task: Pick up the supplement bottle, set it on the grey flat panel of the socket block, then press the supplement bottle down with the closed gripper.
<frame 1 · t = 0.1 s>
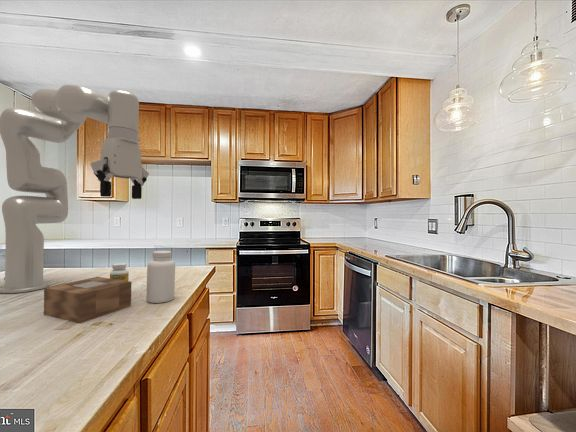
hand: (122, 197, 79), 31 cm above the counter, tool pointing down, fingers open, 9 cm apart
supplement bottle: (119, 293, 93), on the counter
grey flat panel: (90, 286, 76), point 7 cm above the counter, slide at 0.0 cm
socket block: (89, 310, 76), on the counter
pill bottle: (160, 300, 87), on the counter
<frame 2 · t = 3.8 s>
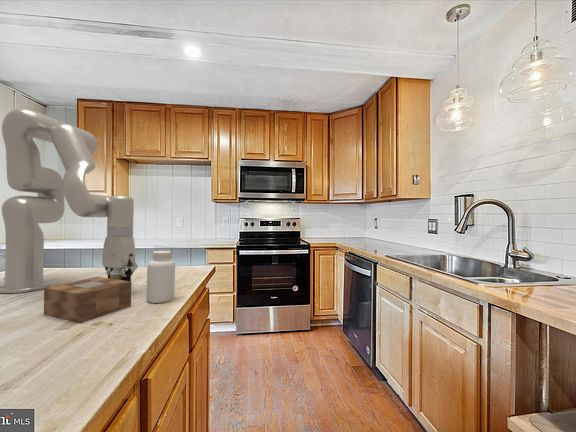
hand: (119, 286, 93), 2 cm above the counter, tool pointing down, fingers closed on supplement bottle, 5 cm apart
supplement bottle: (119, 293, 93), on the counter, touching gripper
everything else where it was.
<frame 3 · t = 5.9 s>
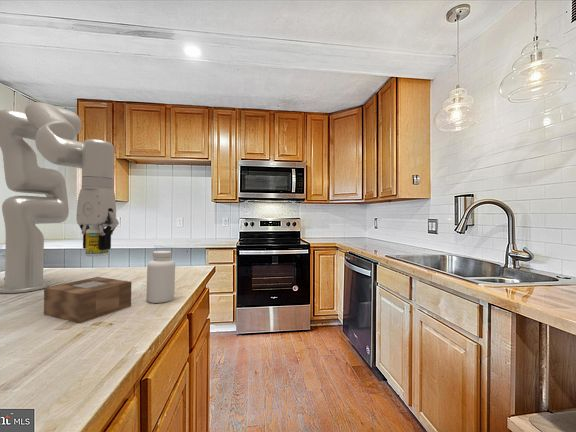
hand: (96, 248, 79), 17 cm above the counter, tool pointing down, fingers closed on supplement bottle, 5 cm apart
supplement bottle: (97, 255, 79), point 14 cm above the counter, touching gripper
everything else where it was.
when the fingers open (10 cm above the counter, at t = 8.2 s): supplement bottle drops 6 cm, resting on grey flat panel.
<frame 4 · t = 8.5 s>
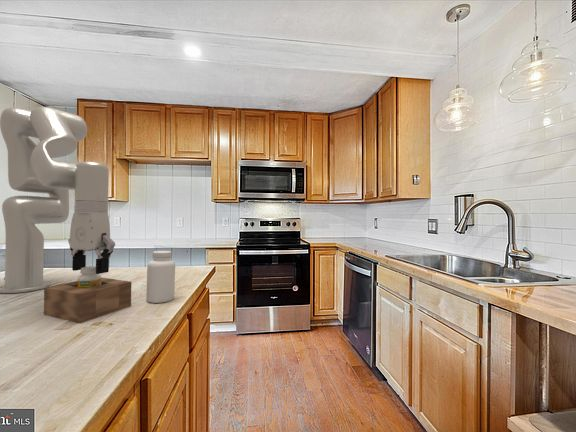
hand: (90, 271, 76), 11 cm above the counter, tool pointing down, fingers open, 8 cm apart
supplement bottle: (89, 303, 76), point 2 cm above the counter, touching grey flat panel
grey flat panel: (89, 304, 76), point 2 cm above the counter, slide at 5.0 cm, touching supplement bottle
everything else where it was.
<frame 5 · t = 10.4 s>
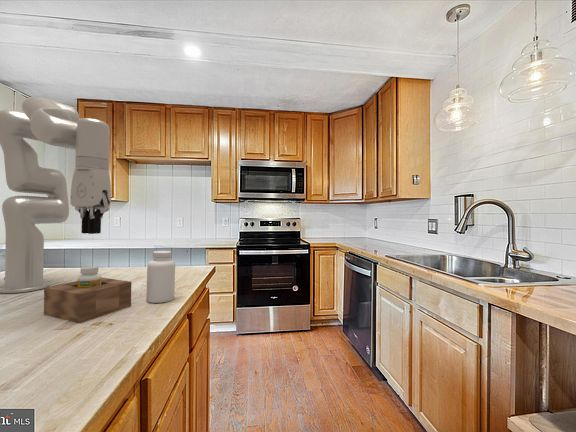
hand: (91, 232, 76), 21 cm above the counter, tool pointing down, fingers closed
nothing on the counter moved.
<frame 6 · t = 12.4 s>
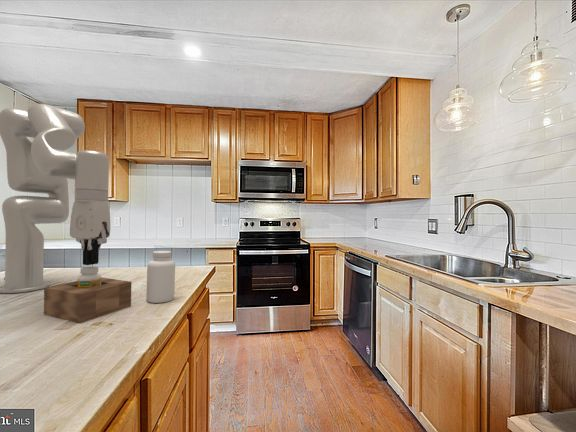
hand: (90, 264, 76), 13 cm above the counter, tool pointing down, fingers closed
nothing on the counter moved.
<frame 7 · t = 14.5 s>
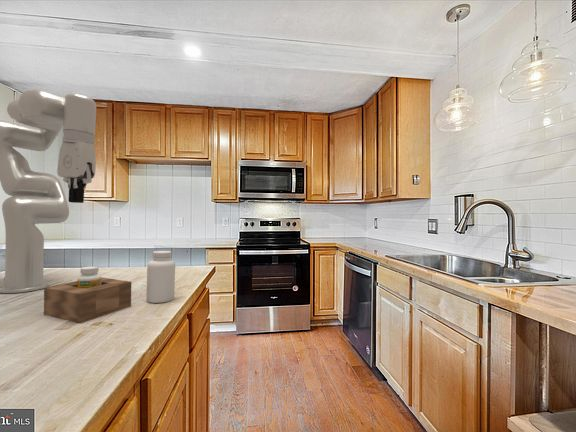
hand: (76, 202, 82), 30 cm above the counter, tool pointing down, fingers closed
nothing on the counter moved.
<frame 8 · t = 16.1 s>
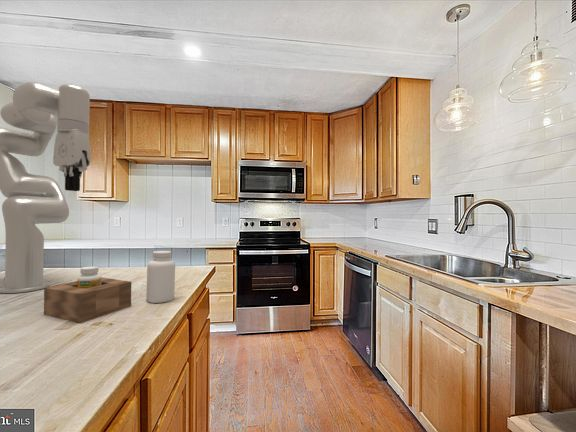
hand: (72, 190, 84), 33 cm above the counter, tool pointing down, fingers closed
nothing on the counter moved.
at the end: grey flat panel slide at 5.0 cm; supplement bottle 0.3 cm from the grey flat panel (horizontally); supplement bottle point 1.8 cm above the counter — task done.
